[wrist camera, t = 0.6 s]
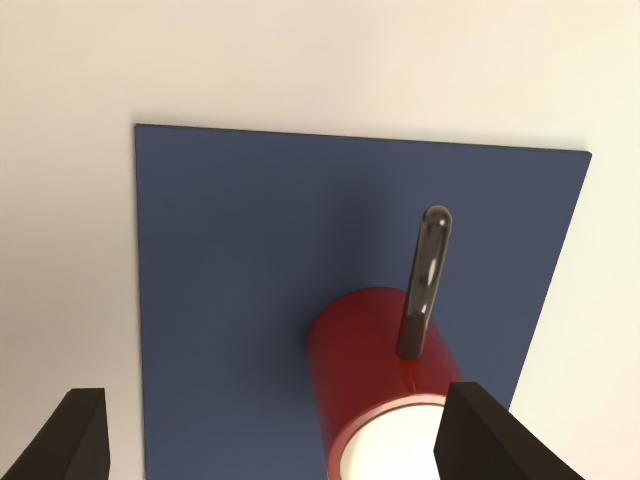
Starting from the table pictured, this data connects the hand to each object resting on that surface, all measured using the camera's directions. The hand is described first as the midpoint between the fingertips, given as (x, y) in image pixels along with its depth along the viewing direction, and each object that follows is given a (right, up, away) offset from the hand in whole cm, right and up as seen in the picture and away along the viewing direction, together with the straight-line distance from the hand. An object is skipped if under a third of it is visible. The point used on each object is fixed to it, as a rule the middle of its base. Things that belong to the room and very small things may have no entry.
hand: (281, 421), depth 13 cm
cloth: (+2, 0, +12) cm, 12 cm away
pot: (+3, +2, +11) cm, 11 cm away
